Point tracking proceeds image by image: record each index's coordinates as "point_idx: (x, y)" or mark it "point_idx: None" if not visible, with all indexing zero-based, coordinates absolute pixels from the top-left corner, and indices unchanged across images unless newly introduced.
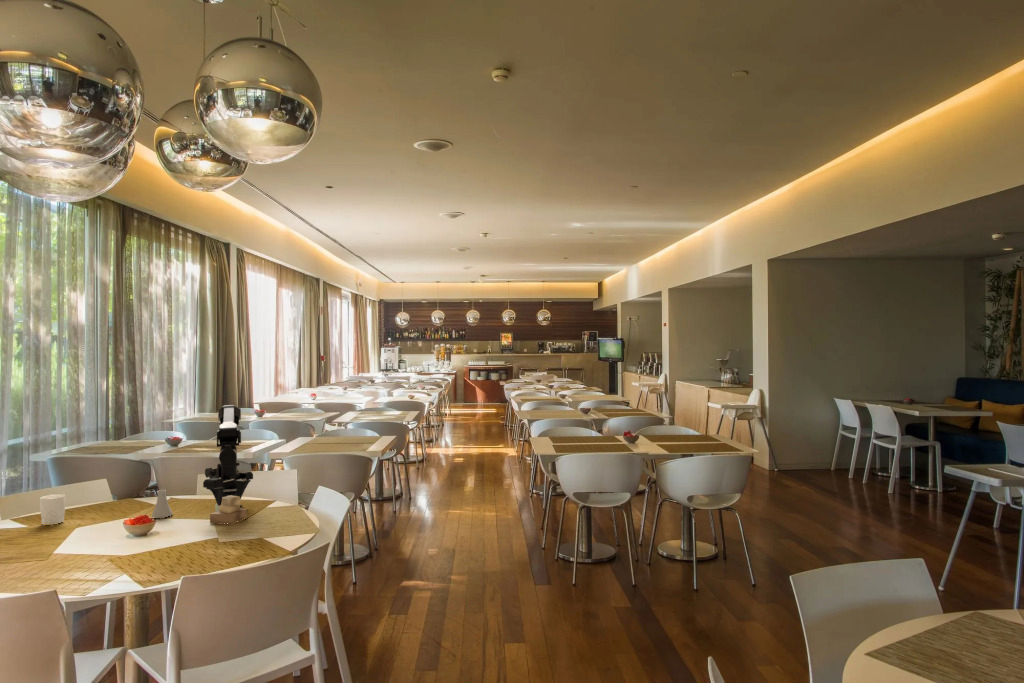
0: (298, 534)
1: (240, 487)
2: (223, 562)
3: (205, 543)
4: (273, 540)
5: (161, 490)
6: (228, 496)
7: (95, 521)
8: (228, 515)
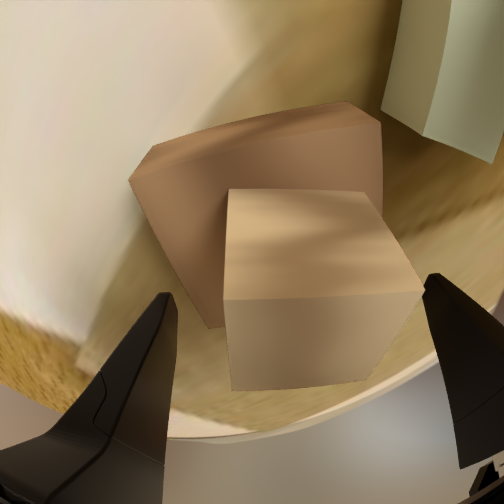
0: (232, 425)
1: (472, 400)
2: (59, 405)
3: (42, 348)
4: (172, 418)
5: None
6: (358, 320)
7: None
8: (199, 308)
